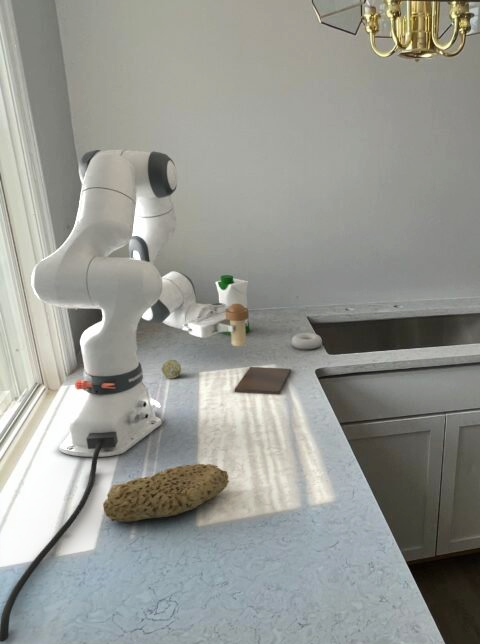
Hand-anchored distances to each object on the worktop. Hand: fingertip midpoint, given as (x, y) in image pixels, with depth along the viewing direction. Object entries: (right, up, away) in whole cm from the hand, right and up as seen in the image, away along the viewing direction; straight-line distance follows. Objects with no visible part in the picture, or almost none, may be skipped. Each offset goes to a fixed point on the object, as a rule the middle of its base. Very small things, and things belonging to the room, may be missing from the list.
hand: (240, 326), depth 162 cm
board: (+8, -16, -6) cm, 19 cm away
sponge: (+3, -38, -60) cm, 71 cm away
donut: (+16, -5, +21) cm, 28 cm away
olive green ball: (-18, -15, -6) cm, 24 cm away
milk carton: (-10, 0, +32) cm, 34 cm away
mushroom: (-1, -5, +2) cm, 6 cm away
